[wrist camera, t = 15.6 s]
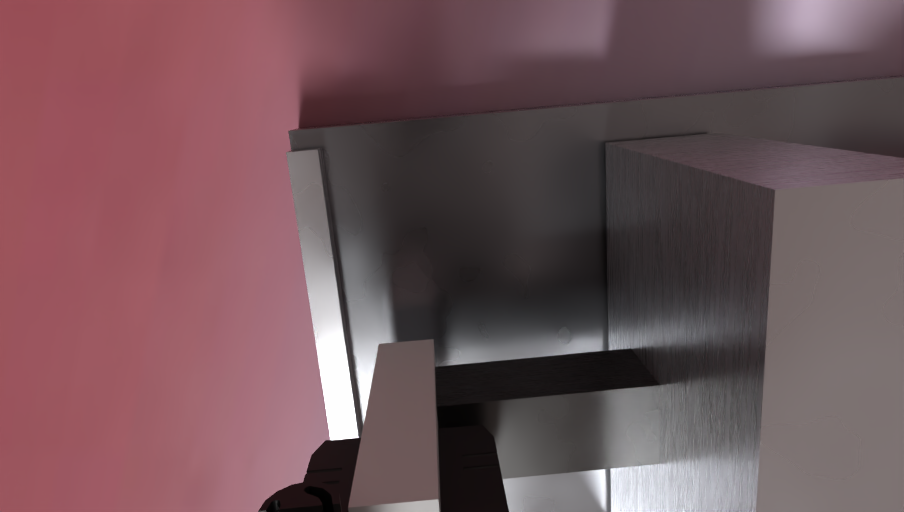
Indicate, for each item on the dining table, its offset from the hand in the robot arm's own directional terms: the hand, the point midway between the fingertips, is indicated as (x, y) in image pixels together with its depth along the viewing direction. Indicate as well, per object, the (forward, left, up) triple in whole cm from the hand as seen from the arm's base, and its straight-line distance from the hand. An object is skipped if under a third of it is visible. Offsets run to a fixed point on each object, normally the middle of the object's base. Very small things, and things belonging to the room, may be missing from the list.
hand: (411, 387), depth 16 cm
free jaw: (0, +5, -1) cm, 5 cm away
